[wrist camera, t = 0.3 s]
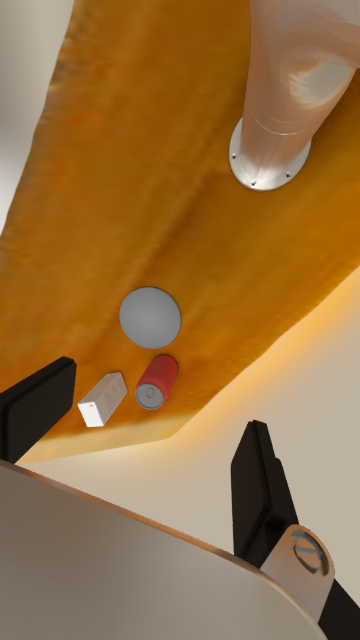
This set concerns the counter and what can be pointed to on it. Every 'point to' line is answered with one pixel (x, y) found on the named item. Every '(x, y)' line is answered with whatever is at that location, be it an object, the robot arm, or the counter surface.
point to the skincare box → (103, 399)
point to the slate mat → (150, 317)
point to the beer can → (156, 382)
